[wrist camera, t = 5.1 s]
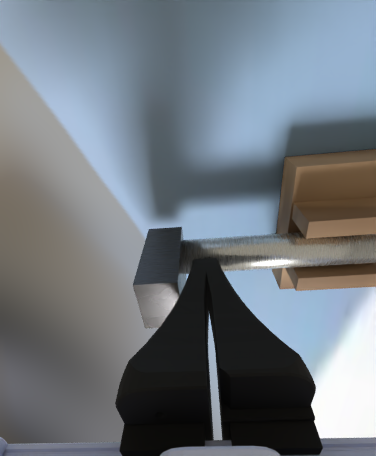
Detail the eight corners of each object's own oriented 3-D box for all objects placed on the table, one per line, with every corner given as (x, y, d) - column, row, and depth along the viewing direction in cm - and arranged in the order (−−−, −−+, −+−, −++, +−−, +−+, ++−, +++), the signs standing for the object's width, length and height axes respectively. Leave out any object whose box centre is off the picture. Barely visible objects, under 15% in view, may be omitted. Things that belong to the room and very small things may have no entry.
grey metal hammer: (366, 254, 16) (426, 315, 12) (156, 267, 16) (145, 328, 12) (381, 212, 14) (456, 266, 10) (148, 229, 15) (132, 285, 11)
